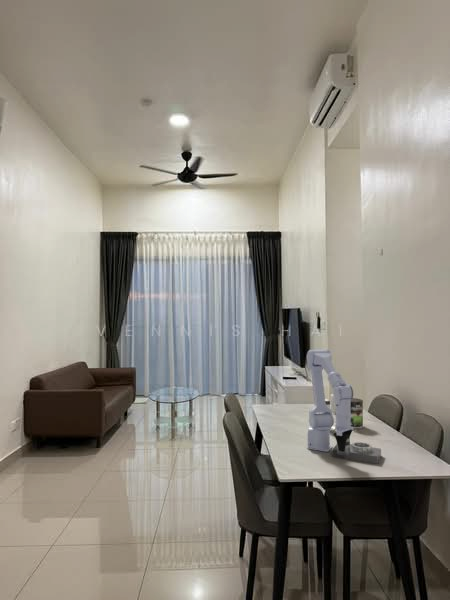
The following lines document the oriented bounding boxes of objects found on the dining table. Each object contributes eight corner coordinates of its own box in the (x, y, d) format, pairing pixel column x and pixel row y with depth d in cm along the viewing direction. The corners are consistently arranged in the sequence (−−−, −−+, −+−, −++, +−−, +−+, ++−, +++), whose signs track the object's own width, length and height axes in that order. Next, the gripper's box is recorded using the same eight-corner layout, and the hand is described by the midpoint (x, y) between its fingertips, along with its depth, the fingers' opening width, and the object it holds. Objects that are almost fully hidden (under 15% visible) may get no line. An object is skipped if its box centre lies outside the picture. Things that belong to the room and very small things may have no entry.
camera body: (332, 456, 178) (332, 444, 179) (338, 449, 188) (338, 437, 188) (377, 464, 170) (377, 451, 170) (381, 455, 180) (381, 443, 180)
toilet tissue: (348, 410, 264) (348, 394, 264) (348, 414, 252) (348, 397, 253) (331, 408, 267) (331, 393, 267) (330, 413, 256) (329, 396, 256)
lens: (335, 453, 169) (335, 438, 169) (338, 450, 174) (338, 435, 174) (348, 456, 167) (348, 440, 167) (351, 452, 171) (351, 437, 171)
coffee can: (367, 427, 223) (366, 401, 223) (349, 429, 220) (349, 402, 221) (356, 423, 233) (355, 397, 233) (339, 424, 230) (339, 398, 231)
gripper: (349, 420, 162) (349, 456, 162) (356, 412, 175) (356, 445, 175) (331, 418, 166) (331, 453, 165) (339, 410, 178) (339, 443, 178)
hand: (343, 449), depth 170 cm, fingers closed on lens, 5 cm apart
